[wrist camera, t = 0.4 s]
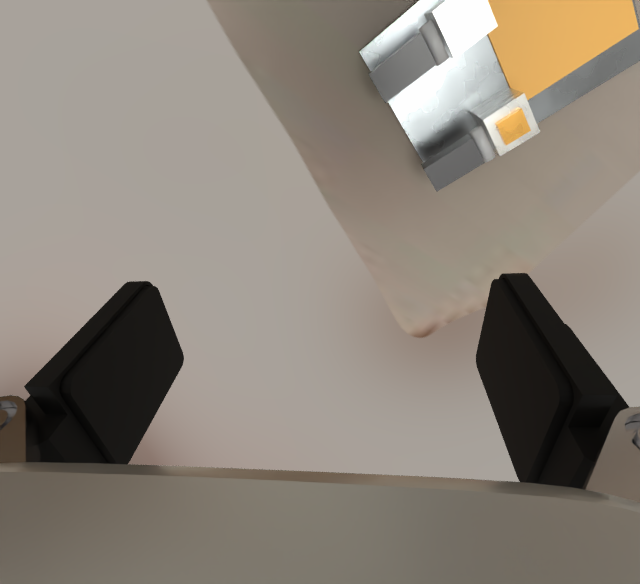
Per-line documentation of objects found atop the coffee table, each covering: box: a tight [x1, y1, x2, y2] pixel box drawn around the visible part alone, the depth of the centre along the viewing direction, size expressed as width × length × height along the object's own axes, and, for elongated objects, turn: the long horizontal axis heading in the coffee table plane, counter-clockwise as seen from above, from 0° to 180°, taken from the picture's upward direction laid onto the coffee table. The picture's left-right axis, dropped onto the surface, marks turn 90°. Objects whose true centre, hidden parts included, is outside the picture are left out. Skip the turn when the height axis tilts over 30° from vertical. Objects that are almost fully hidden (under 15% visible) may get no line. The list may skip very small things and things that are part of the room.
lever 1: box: [369, 20, 449, 103], centre depth 26 cm, size 5×3×1 cm, turn 127°
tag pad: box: [487, 0, 639, 100], centre depth 26 cm, size 8×8×1 cm
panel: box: [359, 0, 640, 163], centre depth 27 cm, size 17×13×6 cm
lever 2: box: [421, 126, 496, 191], centre depth 29 cm, size 5×3×1 cm, turn 127°
